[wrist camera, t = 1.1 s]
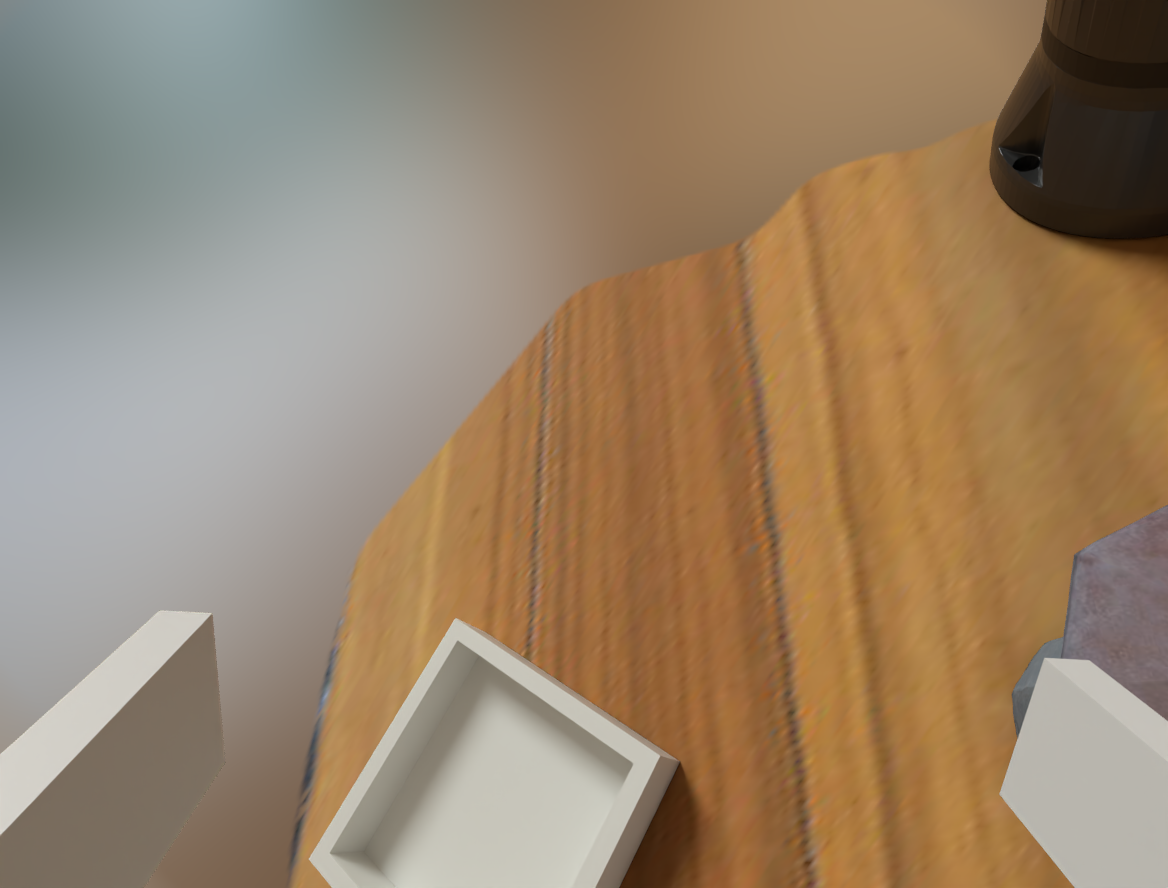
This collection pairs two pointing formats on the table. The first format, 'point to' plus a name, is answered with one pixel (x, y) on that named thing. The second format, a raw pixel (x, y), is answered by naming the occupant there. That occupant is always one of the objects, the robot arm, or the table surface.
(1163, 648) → the moka pot
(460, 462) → the table surface
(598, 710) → the white tray
